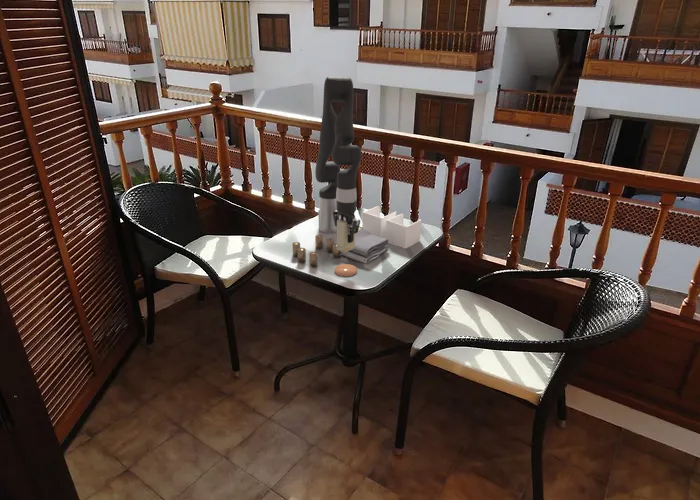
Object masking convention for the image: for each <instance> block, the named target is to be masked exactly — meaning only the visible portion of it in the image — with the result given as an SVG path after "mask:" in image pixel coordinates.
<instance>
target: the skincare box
mask: <svg viewBox="0 0 700 500" xmlns="http://www.w3.org/2000/svg"><path fill="white" fill-rule="evenodd" d="M350 225H352V224H350ZM350 225H348V226H350ZM350 231H351V228H350ZM336 244H337V250H339V251H342V252H347V251H349V250H352V249H354V248H355V234H354V240H353V242H351V243H348V229H347V223H346V222H344V221H343V220H338V221H337V232H336Z"/></svg>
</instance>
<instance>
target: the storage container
mask: <svg viewBox="0 0 700 500" xmlns="http://www.w3.org/2000/svg"><path fill="white" fill-rule="evenodd" d="M380 214H381V206H380V205H379V206H378V205H377V206H375V207H372V208H370V209H367V210H364V211H362V224H361V225H362V228H364V229H365V230H367V231H368V232H369V233H371V234H372V235H377V236H379V237H383V238H386V239H388V244H390V245H393V246H396V247H398V246H399V248H401V247H402V248H401V249H403V250H405V249H408V248H410V247H411V246H413V245H415V244H417V243H419V242H420V241H421V233H422V232H421V231H422V219H420V218H419V219H418V221H415V222H413V223H411V224H409V225H404V217H405V216H404V215H405V214H404V213H400V214H397V211H393V212H391V213H389V214H387V215H385V216H382V217H380ZM362 228H361V229H362Z"/></svg>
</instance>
